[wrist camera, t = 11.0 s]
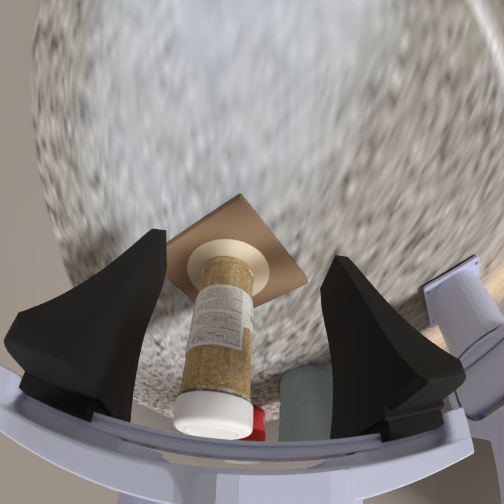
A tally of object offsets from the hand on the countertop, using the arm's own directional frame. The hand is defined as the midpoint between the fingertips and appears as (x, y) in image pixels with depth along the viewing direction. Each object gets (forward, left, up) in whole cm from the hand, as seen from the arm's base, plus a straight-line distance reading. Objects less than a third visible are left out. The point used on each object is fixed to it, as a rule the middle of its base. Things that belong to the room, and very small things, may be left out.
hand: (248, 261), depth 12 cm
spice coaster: (-6, +6, -9) cm, 13 cm away
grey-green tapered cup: (-30, +10, -10) cm, 33 cm away
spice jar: (-6, +7, -9) cm, 12 cm away
